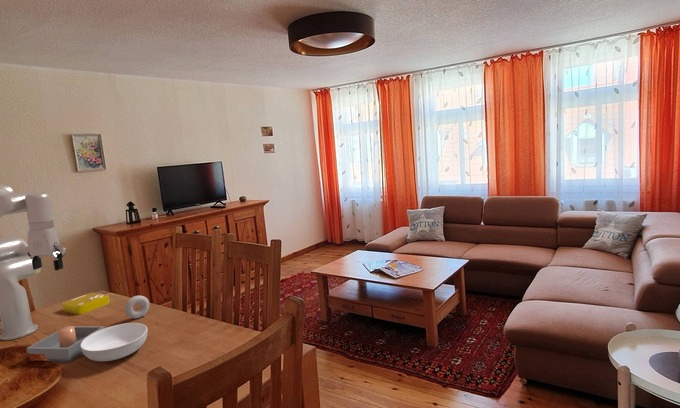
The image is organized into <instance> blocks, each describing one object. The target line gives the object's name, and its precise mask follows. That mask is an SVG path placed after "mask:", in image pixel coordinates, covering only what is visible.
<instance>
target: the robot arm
mask: <svg viewBox="0 0 680 408" xmlns="http://www.w3.org/2000/svg"><path fill="white" fill-rule="evenodd" d="M20 213H26V215H27V223H28V228H29V229H28V231H27V241H25V239H23V238H22V237H19V236H15V235H13V236H8V237H7V236H6V237H3V238H0V322H1V323H0V331H1V333H0V340H1V341H10V340H11V341H12V340H15V339H20V338H23V337H26V336H28V335H31V334H33V333H35V332H36V331H38V329H39V326H38V324H36V323H33V320H32V314H31V310H30V303H29V298H28V294H27V291H26V289H25V287H24V286H23V285H21V284H20V283H18V282H19V281H22V280H24V279H28V278H31V277H34V276H36V275H38V274H39V273H41V271H42V269H43V268H42V267H43V264H42V258H41V257H50V256H51V258H52V259H54V260H53V268H54V271H55V272H57V271H60V270H61V269H64V263H63V259H64V256H65V254H66V250H67V247H64V246H63V245H61V243H60V239H59V236H58V233H57V230H56V228H55V221H54V215H53V209H52V204H51V197H50V194H49V193H46V192H37V191H24V192H16V193H15V191H14V189H13V188H12V186H10V185H8V184H5V183H0V219H1V218H4V216H8V215H16V214H20Z"/></svg>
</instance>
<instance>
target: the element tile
mask: <svg viewBox="0 0 680 408" xmlns="http://www.w3.org/2000/svg"><path fill="white" fill-rule="evenodd" d="M110 303H111V302H110V296H109V294H105V293H98V292H89V293H86V294H83V295H81V296H77V297H75V298H72V299H69V300H67V301H64V302H62V304H61V306H62V311H63V313H68V312H69V314H74V315H83V314H86V313H89V312H91V311H94V310H96V309H100V308H101V307H103V306H106V305H108V304H110Z"/></svg>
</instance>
